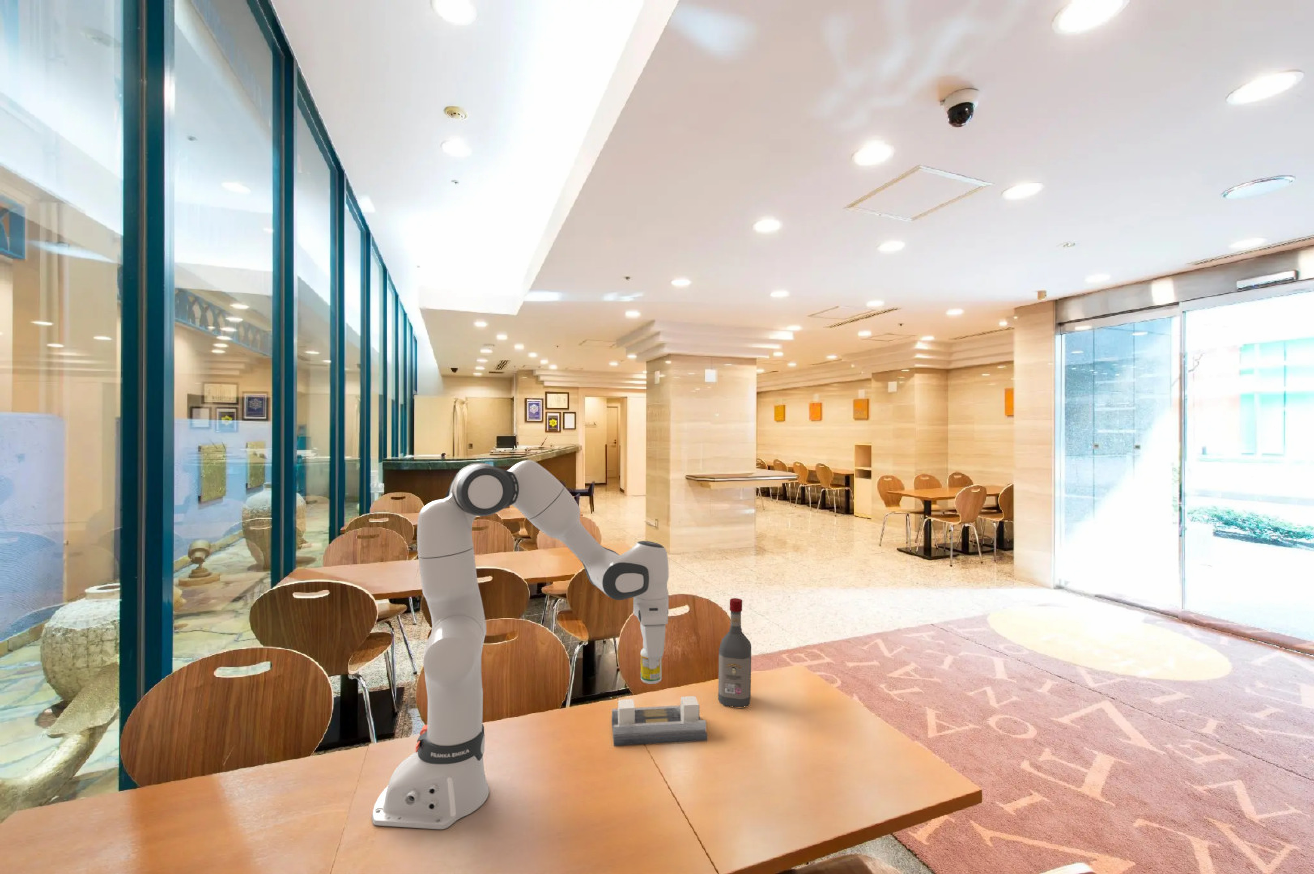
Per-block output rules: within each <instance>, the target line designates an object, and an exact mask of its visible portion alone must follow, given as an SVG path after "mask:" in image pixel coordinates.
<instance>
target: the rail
mask: <svg viewBox="0 0 1314 874" xmlns="http://www.w3.org/2000/svg"><path fill="white" fill-rule="evenodd" d="M680 713H681V704H680V705H663V706H645V707H643V706H641V707H635V724H619V725H618V708H612V709H611V729H612V741H613V746H614V747H617V746H618V747H619V746H620V747H621V746H636V745H653V744H656V745H657V744H671V743H673V744H674V743H686V742H703V741H706V742H707V741H708V734H707V721H706V720H705V719H701V716H700V715H699V720H694V721H681V719H680Z"/></svg>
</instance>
